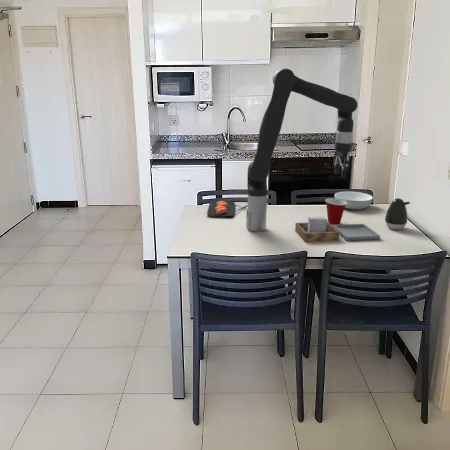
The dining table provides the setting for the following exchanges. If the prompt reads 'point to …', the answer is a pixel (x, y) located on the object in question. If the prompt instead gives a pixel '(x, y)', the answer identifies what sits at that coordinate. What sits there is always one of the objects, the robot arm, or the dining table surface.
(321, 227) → the medicine box
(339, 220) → the plastic cup
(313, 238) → the walnut holder
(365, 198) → the serving bowl
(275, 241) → the dining table surface
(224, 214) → the sushi plate
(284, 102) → the robot arm
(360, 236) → the grey tray
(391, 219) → the pump dispenser
